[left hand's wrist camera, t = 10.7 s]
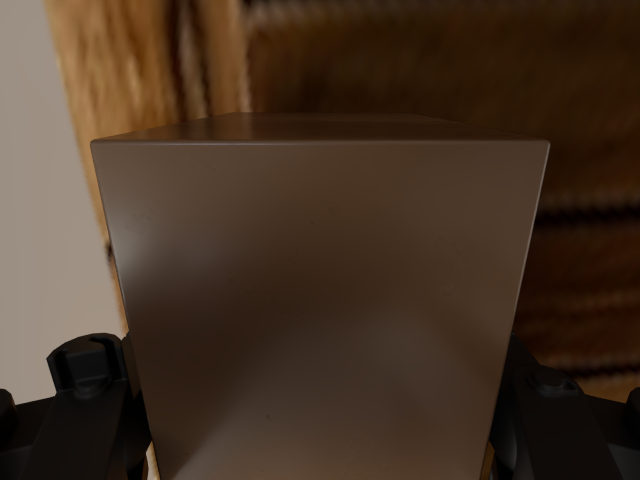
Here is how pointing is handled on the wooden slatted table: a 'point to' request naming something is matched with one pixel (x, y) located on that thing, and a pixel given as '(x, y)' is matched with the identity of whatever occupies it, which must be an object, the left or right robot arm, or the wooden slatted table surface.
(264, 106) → the wooden slatted table surface
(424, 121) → the bar
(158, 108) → the wooden slatted table surface
